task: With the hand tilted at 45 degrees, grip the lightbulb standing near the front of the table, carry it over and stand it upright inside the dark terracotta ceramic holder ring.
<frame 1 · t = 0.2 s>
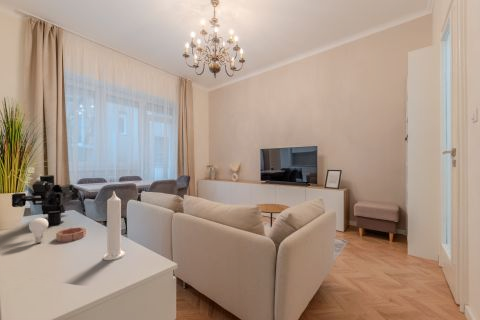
hand: (28, 204, 100), 17 cm above the table, tool horizontal, fingers open, 9 cm apart
holder: (71, 237, 104), on the table
lightbulb: (39, 243, 97), on the table
candle: (114, 256, 85), on the table
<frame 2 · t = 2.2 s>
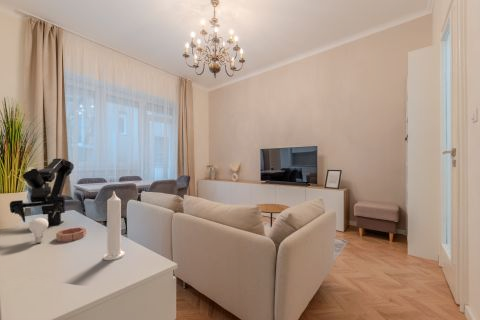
hand: (38, 219, 99), 10 cm above the table, tool tilted 45°, fingers open, 9 cm apart
nothing on the table moved.
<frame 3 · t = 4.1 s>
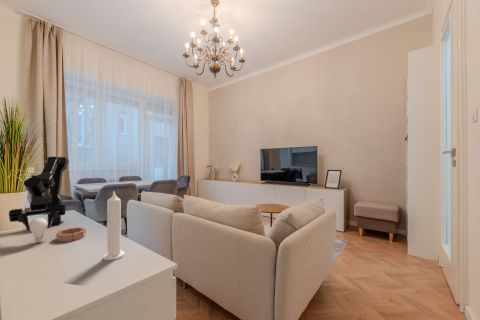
hand: (38, 228, 96), 7 cm above the table, tool tilted 45°, fingers closed on lightbulb, 6 cm apart
lightbulb: (39, 243, 97), on the table, touching gripper
everything else where it was.
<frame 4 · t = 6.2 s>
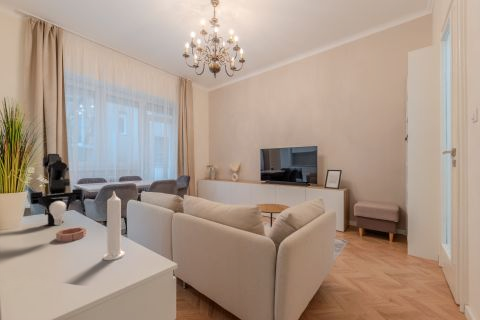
hand: (58, 211, 100), 13 cm above the table, tool tilted 45°, fingers closed on lightbulb, 6 cm apart
lightbulb: (58, 225, 101), point 7 cm above the table, touching gripper
everything else where it was.
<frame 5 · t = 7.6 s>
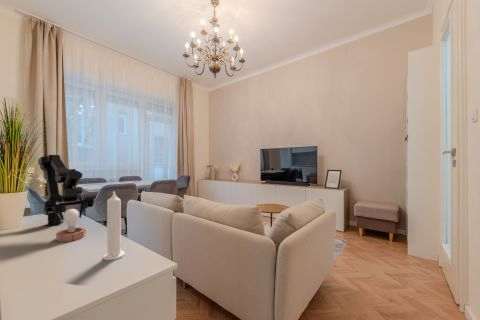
hand: (71, 218, 103), 9 cm above the table, tool tilted 45°, fingers closed on lightbulb, 6 cm apart
lightbulb: (71, 232, 104), point 2 cm above the table, touching gripper
everything else where it was.
when the fingers open (8 cm above the table, at t = 8.7 s): lightbulb moves 1 cm, resting on holder.
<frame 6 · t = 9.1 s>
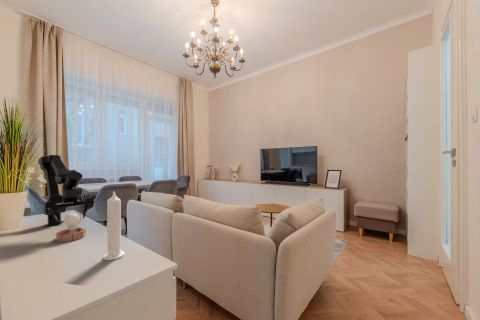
hand: (71, 219, 102), 9 cm above the table, tool tilted 45°, fingers open, 9 cm apart
lightbulb: (72, 236, 104), resting on holder
everything else where it was.
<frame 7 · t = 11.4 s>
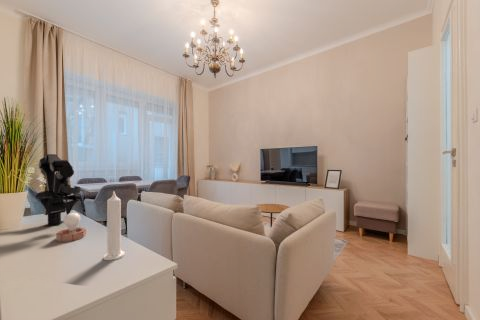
hand: (59, 214, 108), 10 cm above the table, tool tilted 25°, fingers open, 9 cm apart
nothing on the table moved.
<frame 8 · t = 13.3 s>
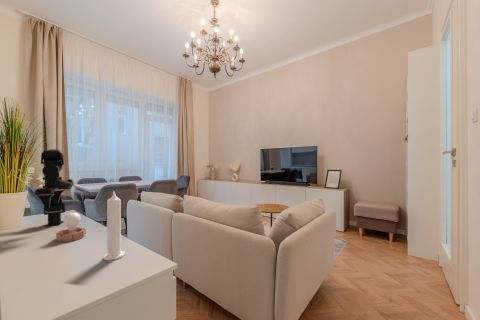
hand: (52, 206, 111), 13 cm above the table, tool pointing down, fingers open, 9 cm apart
nothing on the table moved.
at the end: lightbulb 0.3 cm off-centre on the holder, point 0.4 cm above the holder's base; lightbulb tilted 0°; the gripper is holding nothing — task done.
